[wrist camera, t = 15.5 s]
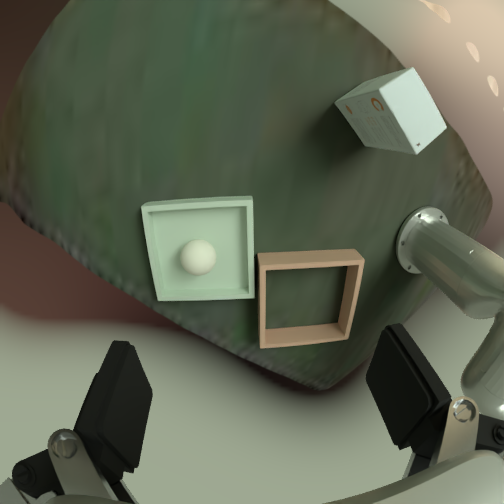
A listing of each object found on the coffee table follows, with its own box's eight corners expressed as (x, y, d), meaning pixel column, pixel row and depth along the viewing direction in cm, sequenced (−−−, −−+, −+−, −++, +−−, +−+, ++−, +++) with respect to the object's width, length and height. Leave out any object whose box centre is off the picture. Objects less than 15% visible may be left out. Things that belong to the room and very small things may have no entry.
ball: (217, 233, 38) (212, 247, 34) (219, 265, 40) (215, 282, 36) (183, 234, 38) (173, 248, 34) (187, 265, 40) (179, 282, 36)
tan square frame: (354, 248, 42) (364, 259, 38) (341, 325, 48) (347, 339, 44) (257, 253, 41) (259, 265, 37) (258, 333, 47) (260, 348, 44)
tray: (251, 195, 37) (252, 199, 35) (253, 289, 43) (254, 298, 41) (146, 202, 36) (141, 206, 34) (161, 292, 43) (158, 300, 40)
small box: (392, 125, 34) (448, 128, 22) (364, 147, 35) (416, 156, 23) (362, 81, 31) (414, 65, 19) (332, 101, 32) (377, 90, 20)
